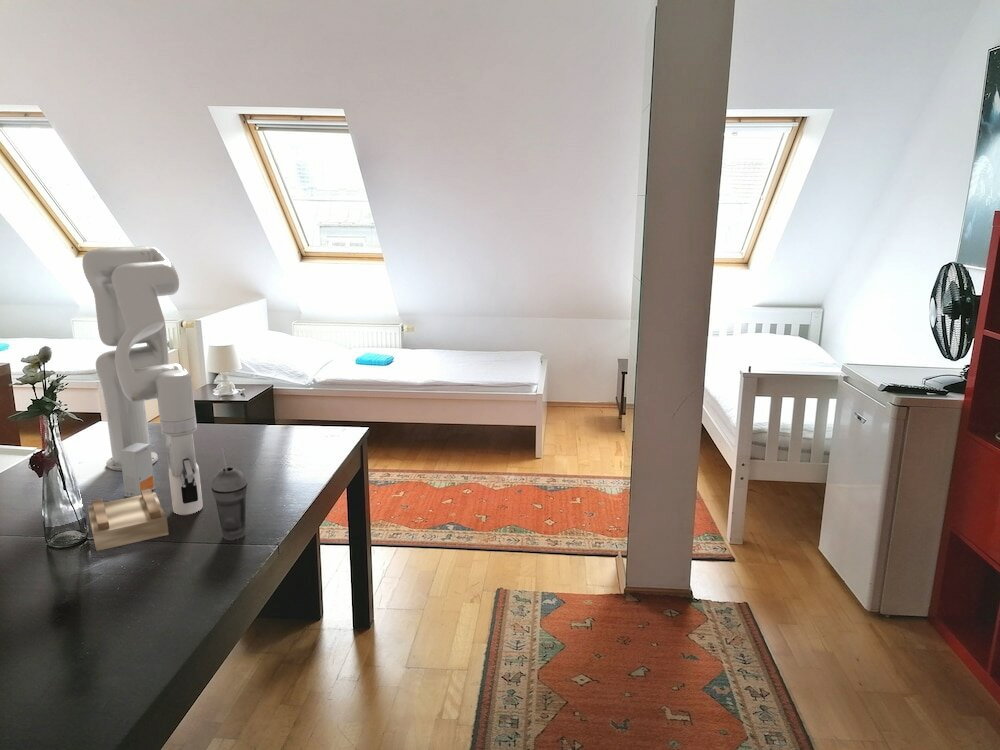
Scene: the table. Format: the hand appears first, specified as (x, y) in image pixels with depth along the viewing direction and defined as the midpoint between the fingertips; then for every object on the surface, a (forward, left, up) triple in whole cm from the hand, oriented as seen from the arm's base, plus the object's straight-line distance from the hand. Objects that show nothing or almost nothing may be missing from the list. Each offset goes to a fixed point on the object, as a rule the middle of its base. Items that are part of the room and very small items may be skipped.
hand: (186, 494), depth 171 cm
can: (0, 0, -4) cm, 4 cm away
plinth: (+3, -13, -4) cm, 14 cm away
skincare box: (-17, -8, -4) cm, 19 cm away
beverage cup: (+19, +6, -4) cm, 20 cm away
